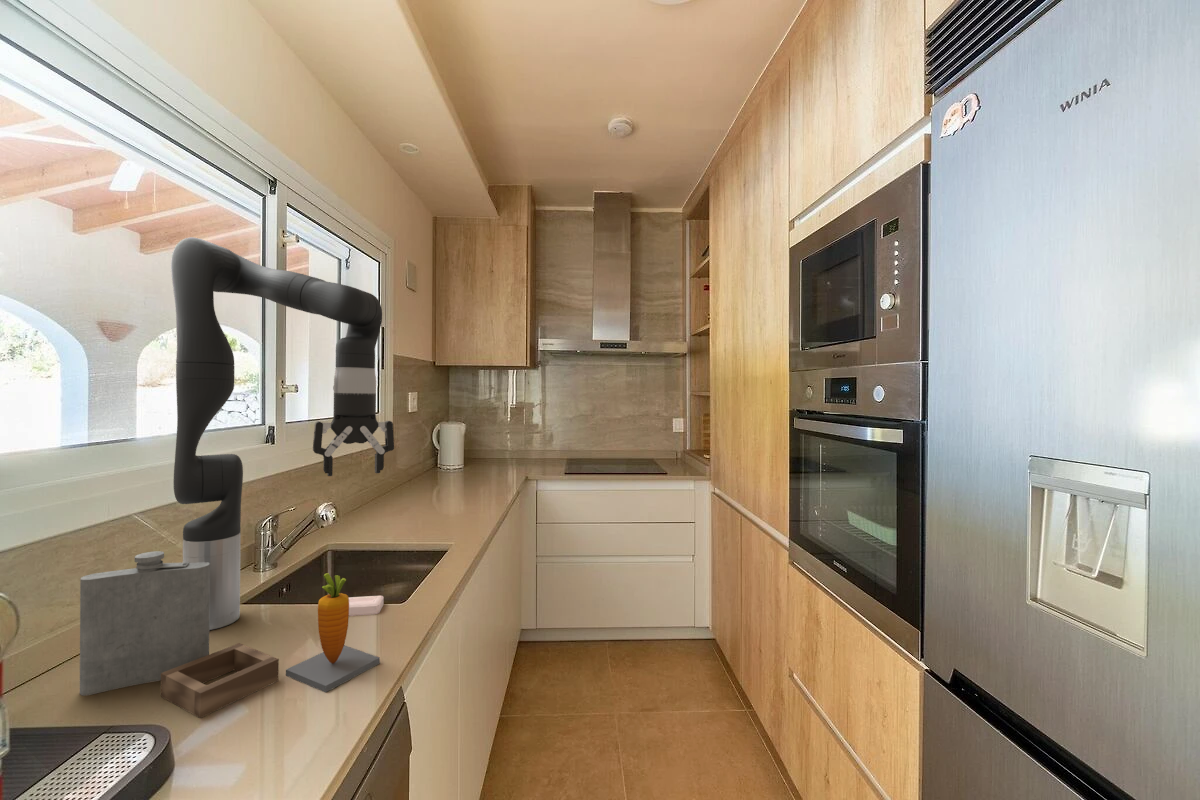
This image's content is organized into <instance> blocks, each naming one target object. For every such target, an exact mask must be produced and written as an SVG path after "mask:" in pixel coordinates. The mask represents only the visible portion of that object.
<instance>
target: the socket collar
mask: <svg viewBox="0 0 1200 800" xmlns="http://www.w3.org/2000/svg"><path fill="white" fill-rule="evenodd" d="M233 671H236V672H234V673H231V672H233ZM227 673H231V674H229V675H227ZM225 674H226V675H227V676H225V677H223V678H220V679H217V680H216V681H213V682H211V683H209V684H204V683H207V682H209V681H212V680H214V679H216V678H218V677H221V676H223V675H225ZM276 682H279V658H277V657H275V656H272V655H270V654H267V653H265V652H262V651H260V650H257V649H256V648H252V647H250V646H247V645H245V644H243V643H240V642H238V643H236V644H233V645H230V646H228V647H224V648H222V649H219V650H217V651H214V652H212V653H209V655H207V656H204V657H202V658H199V659H196V660H194V661H191V662H189V663H186V664H183V665H181V666H178V667H176V668H173V669H170V670H168V671H165V672H163V673H161V680H160V697H161V698H162V699H165V700H166V701H168V702H170V703H172V704H174V705H175V706H178V707H179V708H181V709H183V710H184V711H186V712H189V713H191V714H192V715H194V716H196V717H198V718H199V719H202V718H203V717H205V716H207V715H209V714H212V713H214V712H215V711H218V710H220V709H222V708H224V707H226V706H228V705H231V704H233V703H235V702H237V701H239V700H241V699H243V698H245V697H247V696H250V695H251V694H254V693H256V692H258V691H260V690H262V689H264V688H266V687H268V686H271V685H272V684H274V683H276Z"/></svg>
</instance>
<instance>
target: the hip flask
mask: <svg viewBox="0 0 1200 800" xmlns="http://www.w3.org/2000/svg"><path fill="white" fill-rule="evenodd" d="M164 558H165V552H164V551H159V550H158V551H147V552H142V553H139V554H136V555H134V562H135V563H136V567H134V568H128V569H127V568H125V569H117V570H111V571H104V572H96V573H91V574H88V575H87V574H86V575H84V576H81V577H80V580H79V581H80V583H79V585H80V588H79V589H80V590H79V595H80V597H79V602H80V603H79V695H81V696H92V695H95V694H100V693H104V692H108V691H113V690H117V689H122V688H128V687H131V686H137V685H143V684H147V683H154V682H159V681H160V682H161V673H163V672H165V671H168V670H170V669H173V668H176V667H178V666H181V665H183V664H186V663H189V662H191V661H194V660H196V659H199V658H202V657H204V656H207V655H209V654H210V630H209V607H210V563H208V562H199V563H190V562H183V561H182V562H164V561H163V560H162V559H164Z"/></svg>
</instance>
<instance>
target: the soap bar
mask: <svg viewBox="0 0 1200 800" xmlns="http://www.w3.org/2000/svg"><path fill="white" fill-rule="evenodd" d="M348 597H349V596H348ZM384 599H385V598H384V596H383V595H369V596H367V595H366V596H353V597H349V617H351V616H353V617H355V616H370V615H378V614H380V612H381V610H382V609H383V606H384V604H385V603H384Z"/></svg>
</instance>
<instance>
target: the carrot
mask: <svg viewBox="0 0 1200 800" xmlns="http://www.w3.org/2000/svg"><path fill="white" fill-rule="evenodd" d="M323 579H324V580H325V582H326V583H327V584H326V585H323V586H322V587H321V588H322V589H323V590H324V592H326V593H327V595H324V596H322V597H321V598H320V599H318V603H317V625H318V636H319V640H320V645H321V649H322V651H323V652H324V654H325V656H326V657H327V659H328V660H329V662H330V663H332V664H334V663H335V662H336V661H337V659H338V658H339V656H340V654H341V652H342V649H343V647H344V645H346V644H345V643H346V640H347V639H346V638H347V635H348V628H349V617H350V616H349V595H347V594H346V593H342V592H341V590H342V588H343V586H344V584H345V583H346V581H347V579H346V578H345V577H342V578H341V576H340V575H334V580H333V579H332V577H331V575H330V573H329V572H328V573H324V575H323ZM334 581H335V582H334Z"/></svg>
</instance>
